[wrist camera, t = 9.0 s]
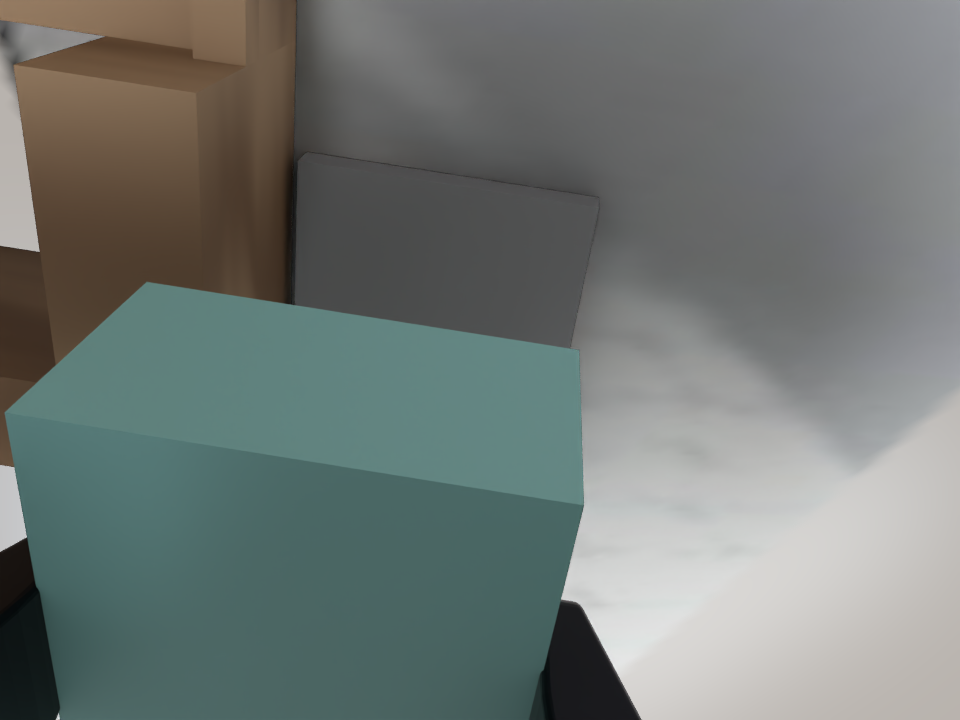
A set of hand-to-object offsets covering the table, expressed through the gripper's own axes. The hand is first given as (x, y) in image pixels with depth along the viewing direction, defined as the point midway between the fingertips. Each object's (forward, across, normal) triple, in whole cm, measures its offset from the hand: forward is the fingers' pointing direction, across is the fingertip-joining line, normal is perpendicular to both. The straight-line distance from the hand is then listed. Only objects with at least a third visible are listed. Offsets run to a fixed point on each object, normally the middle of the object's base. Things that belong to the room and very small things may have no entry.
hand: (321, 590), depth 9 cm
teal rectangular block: (+1, 0, +1) cm, 2 cm away
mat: (+9, 0, +1) cm, 9 cm away
